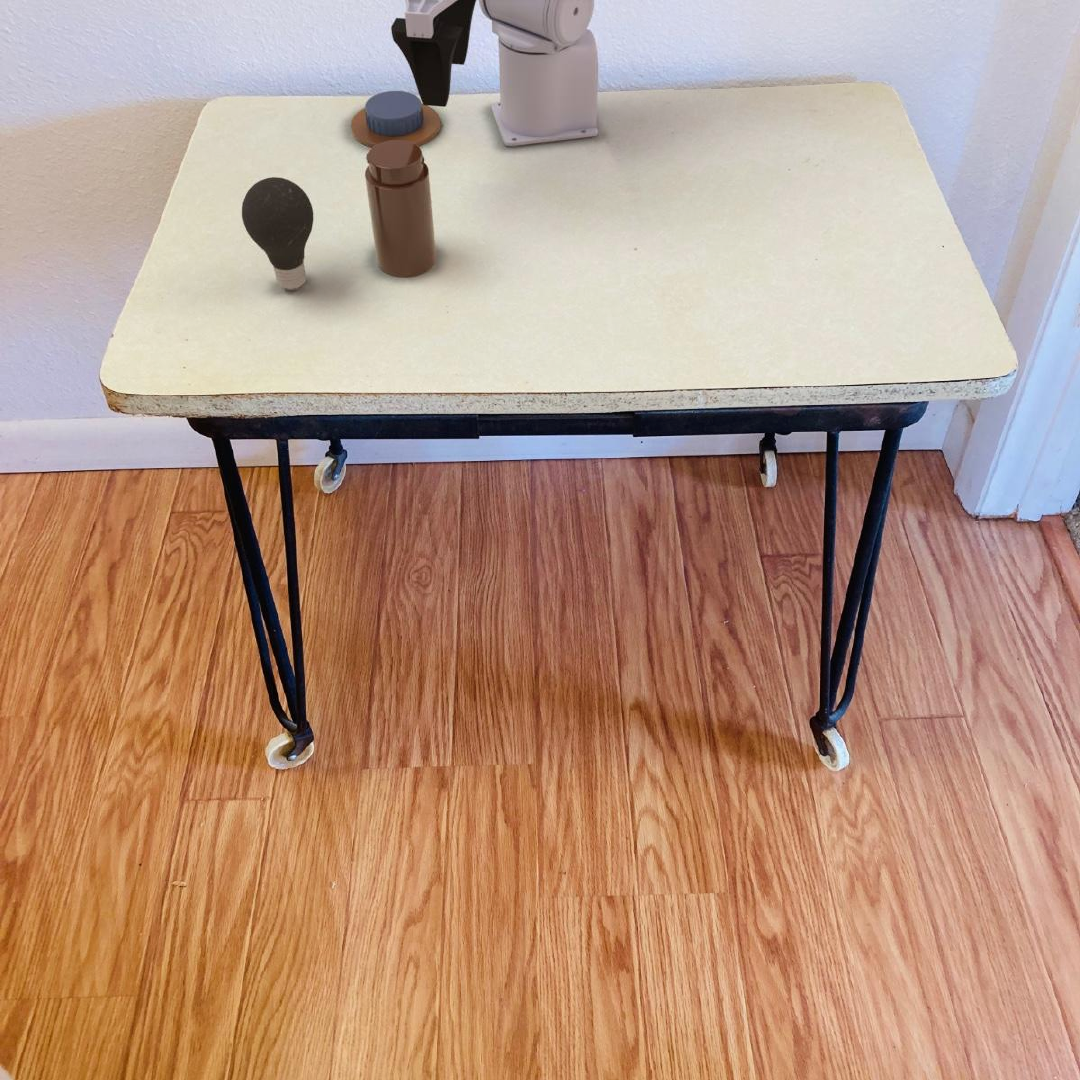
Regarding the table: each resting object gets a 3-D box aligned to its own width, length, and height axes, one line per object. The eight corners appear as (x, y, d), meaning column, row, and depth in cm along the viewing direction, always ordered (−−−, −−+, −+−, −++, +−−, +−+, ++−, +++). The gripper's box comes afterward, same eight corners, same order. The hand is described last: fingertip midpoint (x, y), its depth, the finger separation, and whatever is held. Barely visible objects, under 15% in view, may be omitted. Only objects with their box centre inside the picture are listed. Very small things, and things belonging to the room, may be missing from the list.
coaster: (433, 100, 113) (433, 95, 113) (447, 144, 108) (446, 140, 107) (347, 109, 112) (346, 105, 112) (356, 155, 106) (355, 150, 106)
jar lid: (365, 110, 111) (363, 92, 110) (420, 105, 112) (419, 88, 110) (368, 139, 107) (366, 121, 106) (425, 134, 108) (424, 116, 107)
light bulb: (333, 269, 94) (314, 164, 87) (318, 309, 91) (297, 204, 83) (269, 265, 95) (245, 161, 87) (252, 305, 91) (225, 200, 83)
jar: (429, 238, 97) (419, 133, 90) (442, 271, 94) (433, 165, 86) (372, 247, 96) (357, 142, 89) (382, 281, 93) (368, 175, 86)
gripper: (464, -43, 81) (472, 127, 91) (499, -114, 90) (503, 48, 101) (372, -49, 82) (391, 121, 92) (416, -119, 91) (429, 42, 101)
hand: (444, 82), depth 97 cm, fingers open, 7 cm apart
